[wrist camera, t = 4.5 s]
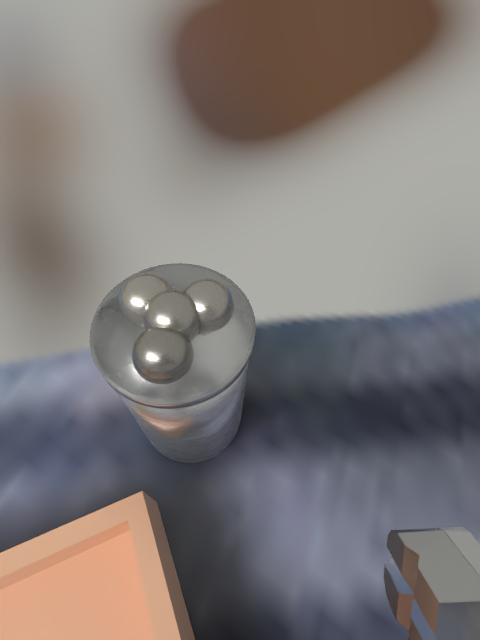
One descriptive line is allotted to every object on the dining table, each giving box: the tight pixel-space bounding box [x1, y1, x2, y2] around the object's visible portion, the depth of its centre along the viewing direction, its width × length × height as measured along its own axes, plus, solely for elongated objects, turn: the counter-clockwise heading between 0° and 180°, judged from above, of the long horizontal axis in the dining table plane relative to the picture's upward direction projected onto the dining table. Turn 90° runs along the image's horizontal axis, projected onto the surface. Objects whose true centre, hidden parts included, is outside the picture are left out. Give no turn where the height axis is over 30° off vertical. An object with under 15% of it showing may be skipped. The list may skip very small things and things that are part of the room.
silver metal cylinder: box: [90, 264, 256, 464], centre depth 16 cm, size 6×6×11 cm
